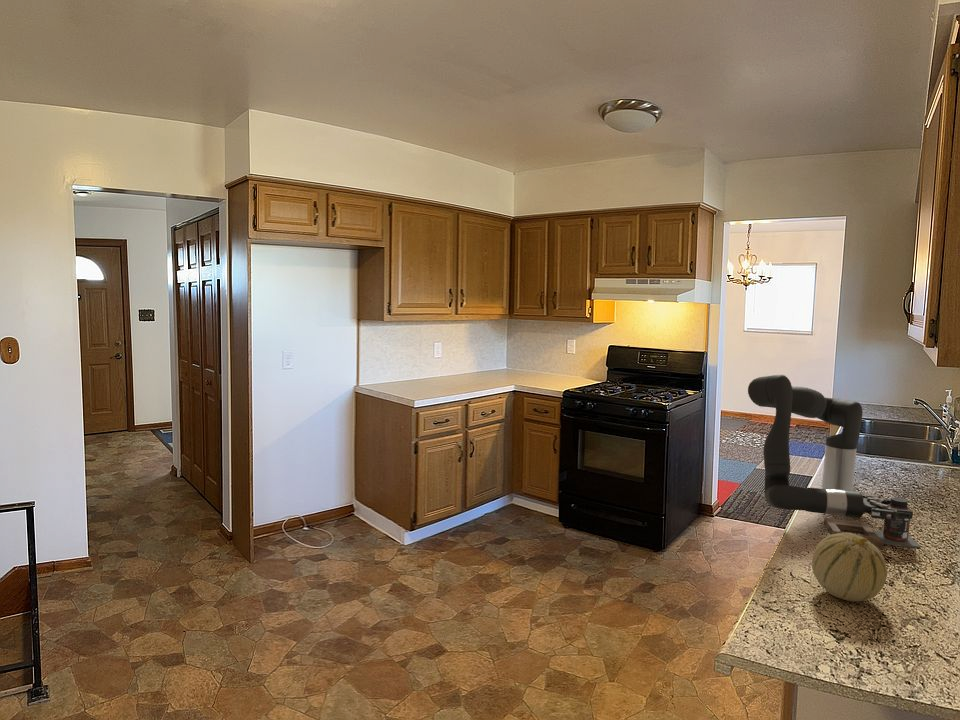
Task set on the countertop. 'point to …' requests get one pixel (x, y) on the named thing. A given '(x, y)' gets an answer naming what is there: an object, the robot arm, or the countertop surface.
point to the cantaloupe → (849, 567)
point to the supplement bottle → (897, 522)
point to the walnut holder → (853, 529)
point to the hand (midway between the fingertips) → (906, 510)
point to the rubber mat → (908, 543)
